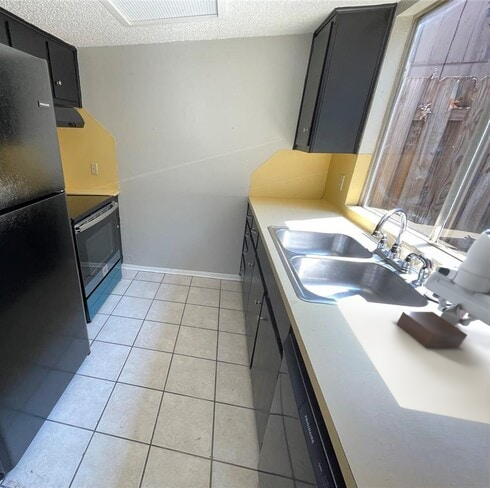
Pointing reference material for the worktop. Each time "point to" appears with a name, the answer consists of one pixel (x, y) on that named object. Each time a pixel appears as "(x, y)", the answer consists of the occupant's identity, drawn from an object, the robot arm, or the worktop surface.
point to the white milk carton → (453, 314)
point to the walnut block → (431, 330)
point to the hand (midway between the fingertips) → (451, 317)
